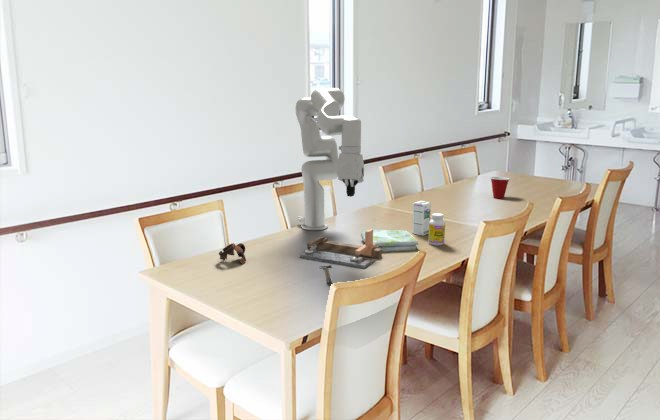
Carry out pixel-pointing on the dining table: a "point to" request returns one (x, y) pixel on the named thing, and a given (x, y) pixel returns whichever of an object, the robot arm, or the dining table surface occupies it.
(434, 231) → the supplement bottle
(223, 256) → the brown arched piece
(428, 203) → the syrup box
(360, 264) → the steel strip
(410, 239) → the towel
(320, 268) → the tactical tomahawk
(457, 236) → the dining table surface
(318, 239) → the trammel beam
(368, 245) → the sliding leg
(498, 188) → the plastic cup
